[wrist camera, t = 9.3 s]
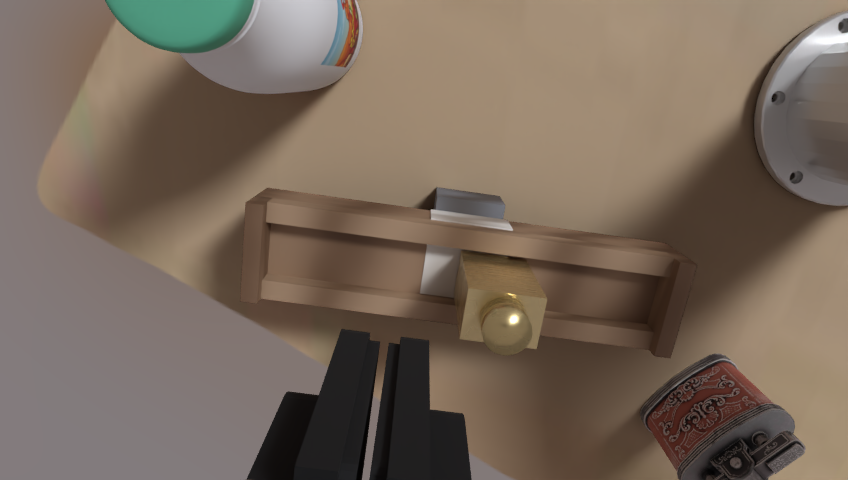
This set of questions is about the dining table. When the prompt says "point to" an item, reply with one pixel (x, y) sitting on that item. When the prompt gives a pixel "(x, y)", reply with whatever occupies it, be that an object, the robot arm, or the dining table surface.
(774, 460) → the lighter
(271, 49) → the milk bottle
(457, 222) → the beam
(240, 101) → the dining table surface
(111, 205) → the dining table surface
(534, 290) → the rider
